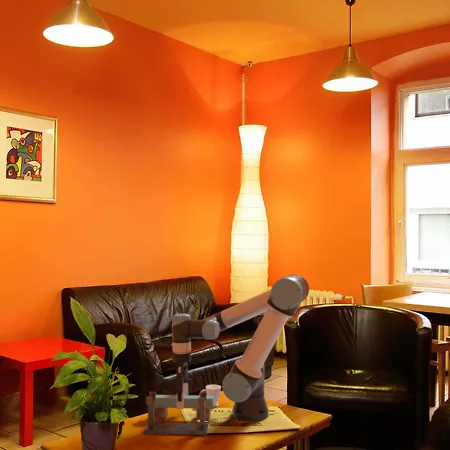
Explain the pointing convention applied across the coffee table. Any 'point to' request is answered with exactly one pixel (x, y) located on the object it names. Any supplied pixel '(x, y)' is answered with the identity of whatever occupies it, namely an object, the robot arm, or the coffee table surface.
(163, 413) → the rest blocks
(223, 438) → the coffee table surface
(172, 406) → the rail
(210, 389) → the cup
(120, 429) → the controller
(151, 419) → the stand
